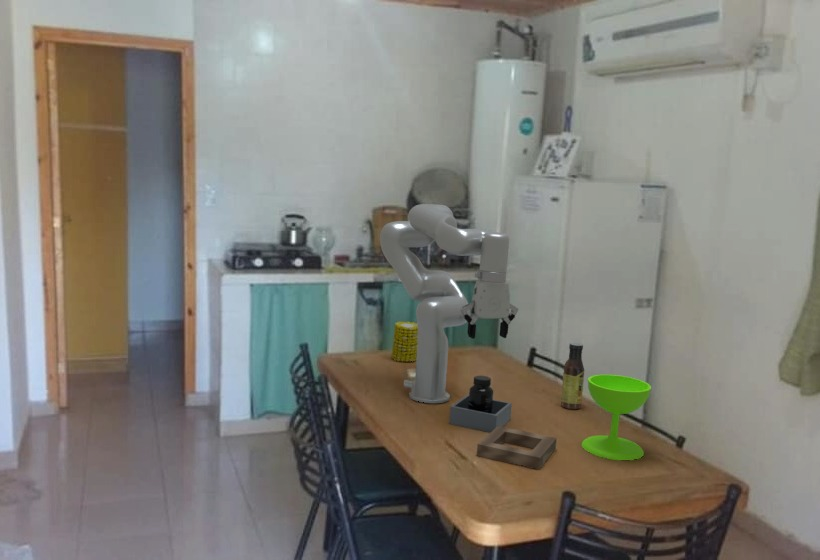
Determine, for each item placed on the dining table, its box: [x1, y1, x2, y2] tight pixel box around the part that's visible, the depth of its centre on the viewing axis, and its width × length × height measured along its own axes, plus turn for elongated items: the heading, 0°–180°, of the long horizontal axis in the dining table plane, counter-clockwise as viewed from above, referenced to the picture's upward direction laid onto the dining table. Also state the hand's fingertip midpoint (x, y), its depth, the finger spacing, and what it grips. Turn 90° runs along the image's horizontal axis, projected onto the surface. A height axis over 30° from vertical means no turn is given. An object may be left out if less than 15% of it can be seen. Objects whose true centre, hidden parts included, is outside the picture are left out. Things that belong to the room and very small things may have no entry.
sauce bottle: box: [560, 342, 585, 410], centre depth 231 cm, size 7×6×20 cm
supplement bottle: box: [468, 375, 494, 414], centre depth 213 cm, size 7×7×12 cm
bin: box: [448, 394, 513, 433], centre depth 213 cm, size 14×14×5 cm
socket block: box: [476, 426, 557, 470], centre depth 192 cm, size 16×16×3 cm
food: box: [391, 321, 418, 363], centre depth 276 cm, size 15×12×10 cm
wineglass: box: [581, 374, 652, 461], centre depth 197 cm, size 16×16×18 cm
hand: (487, 337), depth 211 cm, fingers open, 9 cm apart
